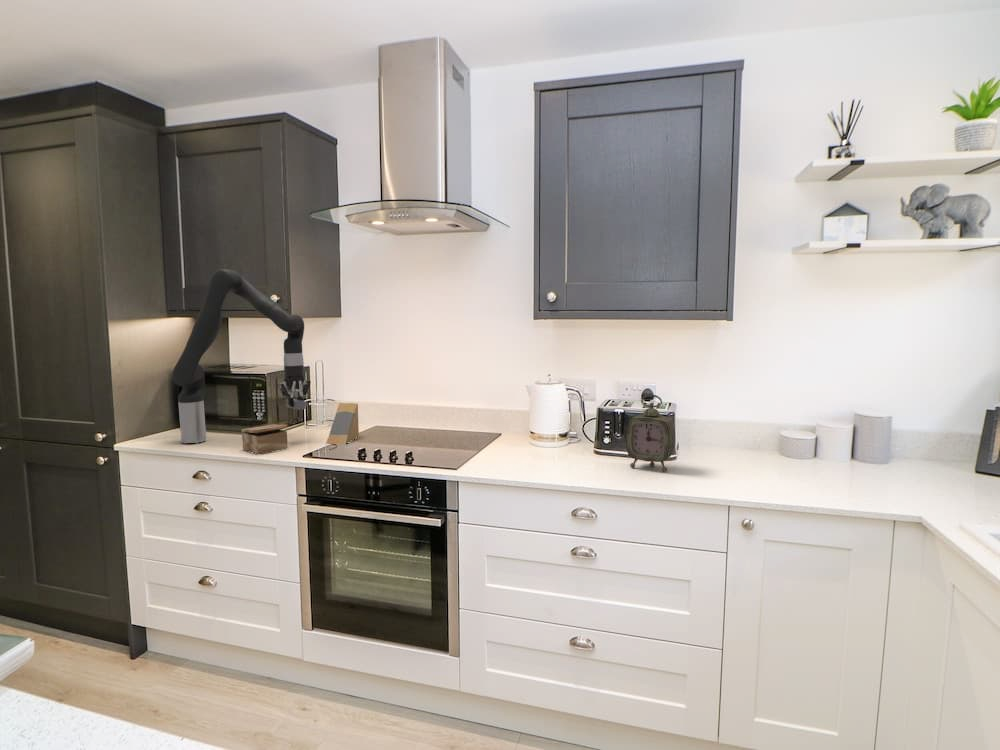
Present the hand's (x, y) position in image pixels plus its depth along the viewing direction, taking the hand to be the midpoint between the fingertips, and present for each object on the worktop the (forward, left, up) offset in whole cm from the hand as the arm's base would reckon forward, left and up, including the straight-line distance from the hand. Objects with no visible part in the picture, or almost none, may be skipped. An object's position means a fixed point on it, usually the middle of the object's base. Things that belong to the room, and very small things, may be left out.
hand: (295, 405), depth 233 cm
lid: (0, -14, -7) cm, 16 cm away
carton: (0, -14, -15) cm, 21 cm away
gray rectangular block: (0, 0, -1) cm, 1 cm away
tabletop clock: (+131, +52, -16) cm, 142 cm away
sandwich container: (+12, +13, -16) cm, 24 cm away
